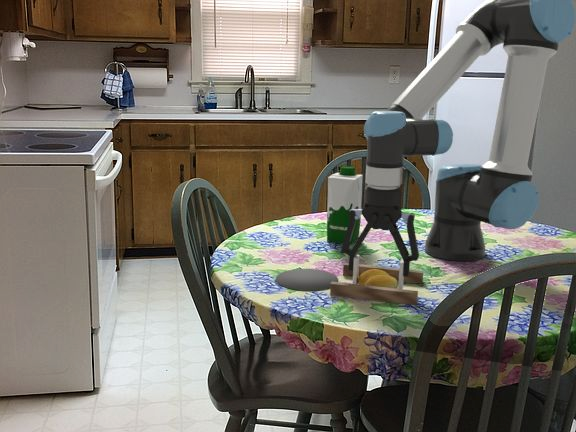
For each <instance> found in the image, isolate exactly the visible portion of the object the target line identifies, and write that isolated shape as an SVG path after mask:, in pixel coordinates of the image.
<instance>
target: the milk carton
mask: <svg viewBox="0 0 576 432" xmlns="http://www.w3.org/2000/svg"><path fill="white" fill-rule="evenodd" d="M362 194H363V174H358V173H356V167H355V166H354V165H341V166H340V170H339V172H336V173H333V174H330V176H328V177H327V209H326V210H327V212H326V242H328V243H338V244H343V241H344V238H345V234H346V231H347V228H348V224H349V221H350V220H349V212H350V210H351V209H352V208H355V209H362V197H363V195H362ZM361 219H362V215H360V217H359V219H357V221H356V225H355V228H354V231H353V235H352V238H351V241H350V245H352V244H355V243H356V241H357V240H358V238H359V236H360V230H361V221H362V220H361Z"/></svg>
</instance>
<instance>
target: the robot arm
mask: <svg viewBox="0 0 576 432" xmlns="http://www.w3.org/2000/svg"><path fill="white" fill-rule="evenodd" d="M575 25H576V9H575V4H574V2H573V1H572V0H485V1H483V2H482V3H481V4H480V5H478V6H477V7H476V8H474V10H472V11H471V12H470V13H469V14H468V15H467V16H466V17H465V18H464V19H463V20H462V21H461V22H460V24H459V25H458V26H457V27H456V28H455V35H454V36H453V37H452V38H451V40H449V42H448V43H447V44H446V45H445V46H444V47H443V48H442V49H441V50H440V51H439V52H438V53H437V55H436V56H435V57H434V58H433V59H432V60H431V61H430V62H429V64H427V65H426V67H425V68H424V69H423V70H422V71H421V72H420V73H419V74H418V76H417V77H416V78H415V79H414V80H413V81H412V82H411V83H409V84H408V86H407V87H406V89H404V91H402V93H401V94H400V95H399V96H398V97H397V98H396V99H395V100H394V102H392V103H391V104H390V106H389V107H388V108H387V109H386V110H376V111H373V112H371V114H370V115H369V117H368V118H367V119H366V121H365V123H364V126H363V133H364V137H365V139H366V141H367V145H366V147H367V149H366V167H365V184H367V185H366V186H365V189H364V204H363V207H362V208H361V209H355V208H352V209H351V210H350V212H349V220H350V221H349V224H348V228H347V231H346V234H345V238H344V241H343V243H342V245H341V248H340V253H341V254H345V255H347V256H348V263H349V270H350V271H353V276H352V284H358V281H357V280H358V278H359V277H358V275H359V264H360V254H357V253H358V250H359V249H360V247H361V245H362V244H363V242H364V241H365V239H366V237H367V236H368V235H369V233H370V231H371V229H373V230H383V231H389V233H390V235H391V236H392V238H393V240H394V243H395V246H396V247H397V249H398V251H399V254H400V256H401V259H400V261H399V267H398V268H399V281H398V289H403V290H404V282H403V280H404V276H405V277H408V275H409V270H410V269H411V268H410V265H411V262H413V261H414V262H416V261H418V260H419V257H420V254H419V253H420V252H419V248H418V240H417V235H416V230H415V225H414V224H415V219H416V214H415V213H414V212H410V213H408V212H403V211H402V208H401V203H402V201H401V200H402V188H401V187H400V186H401V185H402V183H403V171H404V170H403V167H404V158H405V157H406V158H407V157H417V156H418V157H420V156H423V157H424V156H432V157H434V156H436V155H443V154H445V153H447V152H448V151H449V150H450V149H451V147H452V145H453V140H454V138H453V137H454V131H453V129H452V127H451V125H450V124H449V122H448V121H446V120H443V119H437V118H436V119H435V118H432V119H423V118H424V117H425V116H426V115H427V114H428V113H429V112H430V111H431V109H432V108H434V106H435V105H436V104H437V103H438V102H439V101H440V100H441V99H442V98H443V96H444V95H445V94H446V93H447V92H448V91H449V90H450V89H451V88H452V87H453V86H454V84H455V83H456V82H457V81H458V80H459V79H460V78H461V77H462V76H463V75H464V74H465V72H466V71H467V70H468V69H469V68H470V67H471V66H472V64H474V63H475V61H477V59H479V57H480V56H486V55H488V53H490V51H491V50H492V49H493V48H495V47H496V46H498V45H501V44H503V45H502V49H503V50H504V52H505V53H506V54H507V61H506V67H505V72H504V76H503V77H504V78H503V81H502V82H503V83H502V87H501V93H500V100H499V103H498V109H497V113H496V120H495V125H494V131H493V136H492V141H491V147H490V151H489V152H490V153H489V156H488V157H489V158H488V160H487V161H486V162H483V164H473V163H472V164H470V163H469V164H467V163H466V164H450V165H443V166H441V167H440V168H439V169H438V171H437V176H436V181H435V197H434V198H435V199H434V213H433V214H434V215H433V216H434V217H433V223H432V226H431V228H430V230H429V232H428V235H427V237H426V240H425V242H424V243H425V245H424V252H425V253H427V254H428V255H430V256H431V257H435V258H438V259H441V260H448V261H457V262H470V261H478V260H481V259H483V258H485V256H486V242H485V240H484V235H483V230H482V228H481V223H482V222H483V223H484V224H487V225H491V226H493V227H495V228H502V229H505V230H516V229H519V228H521V227H523V226H524V225H526V223H527V222H529V221H530V220H531V219H532V218H533V216H534V214H535V213H536V211H537V209H538V206H539V202H540V201H539V200H540V195H539V192H538V188H537V186H536V185H535V184H533V182H532V178H533V172H532V171H531V169H530V168H529V165H528V163H529V158H530V152H531V147H532V144H533V143H532V142H533V137H534V132H535V127H536V122H537V116H538V113H539V106H540V103H541V97H542V93H543V87H544V83H545V77H546V71H547V68H548V67H547V66H548V61H549V60H550V59H551V58H552V57H554V56H555V55H556V54H557V53H558V49H559V44H560V43H561V42H564V41H565V40H567V39H568V38H569V36H570V35H571V34H572V33H573V31H574V29H575ZM360 215H361V216H362V217H363V218H364V219H365V221H366V225H365V227H364V228H363V229H362V231H361V233H360V234H359V238H358V239H357V240H356V241H355V242H354V243H353V244H354V245H353V246H352V248H351V247H350V245H351V244H350V241H351V238H352V235H353V231H354V228H355V225H356V221H357V219H359V217H360ZM401 219H402V220H403V223H404V224H405V225H406V231H407V235H408V236H407V237H408V242H409V248H410V252H409V250H408V248H407V245H406V244H405V241H404V239H403V237H402V234H401V232H400V231H399V227H398V225H397V223H398V222H399V221H400V220H401Z"/></svg>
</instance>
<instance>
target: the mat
mask: <svg viewBox="0 0 576 432" xmlns="http://www.w3.org/2000/svg"><path fill="white" fill-rule="evenodd" d="M275 281H276V283H277V284H278V285H279V286H281V287H283V288H286V289H290V290H295V291H301V292H302V291H303V292H305V291H306V292H318V291H324V290H329V289H330V284H331V282H332V281H333V282H339V278H338V276H337V275H336V274H333V273H332V272H329V271H325V270H321V269H315V268H295V269H293V268H292V269H289V270H285V271H282V272H280V273H278V274H277V275H276V277H275Z"/></svg>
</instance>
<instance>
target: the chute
mask: <svg viewBox="0 0 576 432" xmlns="http://www.w3.org/2000/svg"><path fill="white" fill-rule="evenodd" d="M342 265H343V266H342V267H343V268H342V275H343V276H350V277H353V271H350V270H349V262H344V263H343V264H342ZM399 268H400V267H389V266H380V265H379V266H378V265H369V264H360V263H359V275H358V278H359V276H360V275H361V274H362V273H364V272H365V271H367V270H370V269H379V270H383V271H385V272H386V273H387V274H389V275H390V276H392V277H394V278H395V279H396V280H397V282H399ZM424 272H425V271H424V270H417V269H409V275H408V277H405V276H404V280H403V283H414V284H419V285H420V284H423V282H424V281H423V280H424ZM329 289H330V290H329V295H330V296H334V297H335V296H337V297H344V298H345V297H346V298H354V299H363V300H368V301H369V300H370V301H378V302H385V303H386V302H387V303H393V304H395V303H396V304H404V305H410V304H411V305H412V306H417V305H418V298H419V297H418V296H419V291H418V290H413V289H412V290H410V289H404V288H403V289H395V288H386V287H377V286H368V285H359V284H353V283H350V282H340V281H338V282H333V281H332V282H331V284H330V288H329ZM411 305H410V306H411Z"/></svg>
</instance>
